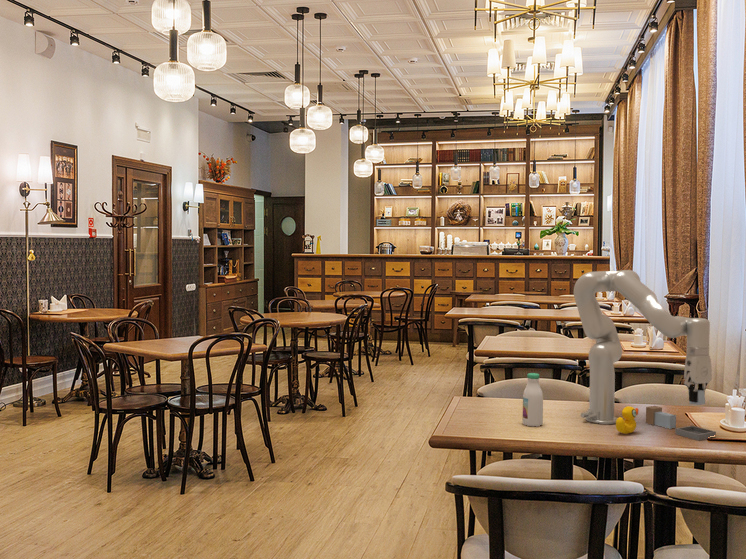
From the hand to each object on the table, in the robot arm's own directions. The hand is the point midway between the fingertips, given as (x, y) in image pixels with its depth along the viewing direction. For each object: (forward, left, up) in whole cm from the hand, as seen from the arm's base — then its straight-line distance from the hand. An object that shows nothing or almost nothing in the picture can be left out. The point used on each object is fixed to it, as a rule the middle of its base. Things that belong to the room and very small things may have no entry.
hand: (696, 400), depth 252 cm
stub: (0, 0, -1) cm, 1 cm away
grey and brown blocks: (+1, +16, -13) cm, 21 cm away
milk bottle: (-43, +40, -13) cm, 60 cm away
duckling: (-20, +14, -13) cm, 28 cm away
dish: (0, 0, -13) cm, 13 cm away
